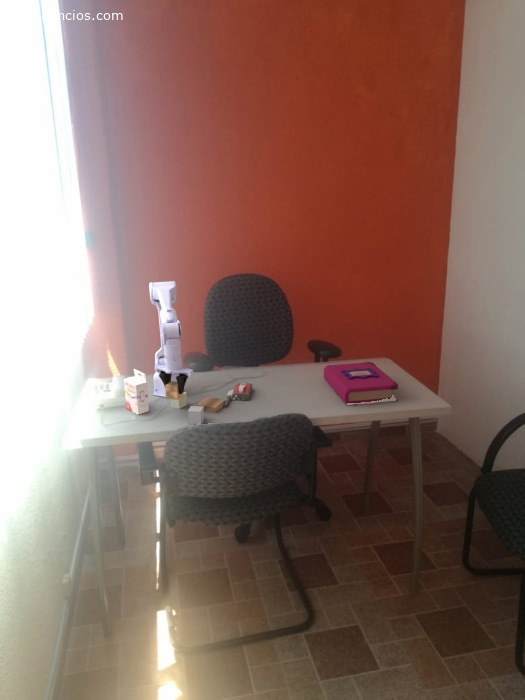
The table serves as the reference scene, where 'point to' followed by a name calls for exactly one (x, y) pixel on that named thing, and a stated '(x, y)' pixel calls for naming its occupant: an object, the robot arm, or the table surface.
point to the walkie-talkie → (240, 392)
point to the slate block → (196, 414)
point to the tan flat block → (211, 404)
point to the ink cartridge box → (136, 393)
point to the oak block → (173, 391)
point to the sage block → (179, 402)
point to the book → (359, 382)
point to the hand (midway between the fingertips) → (175, 392)
